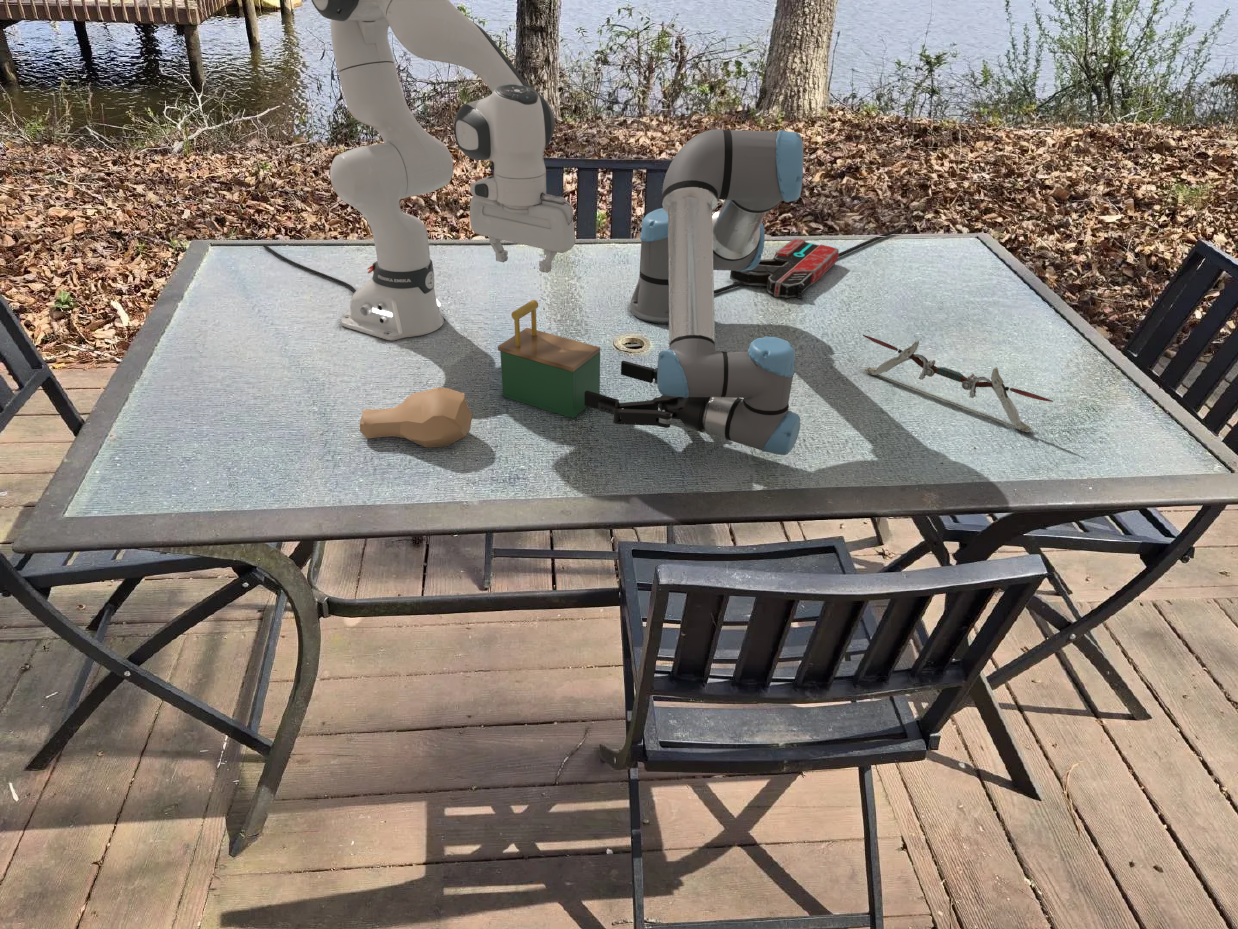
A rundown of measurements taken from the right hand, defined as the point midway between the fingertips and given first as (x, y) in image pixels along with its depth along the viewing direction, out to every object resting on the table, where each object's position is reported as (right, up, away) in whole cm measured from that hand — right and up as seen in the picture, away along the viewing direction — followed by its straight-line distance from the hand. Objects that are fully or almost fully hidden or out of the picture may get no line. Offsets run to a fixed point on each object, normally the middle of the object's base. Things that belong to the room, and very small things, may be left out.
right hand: (604, 382), depth 161 cm
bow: (+66, -3, +11) cm, 67 cm away
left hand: (-15, +21, -3) cm, 25 cm away
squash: (-33, -10, -5) cm, 35 cm away
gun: (+46, +34, +65) cm, 86 cm away
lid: (-10, +6, +4) cm, 13 cm away
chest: (-10, -2, +9) cm, 14 cm away
